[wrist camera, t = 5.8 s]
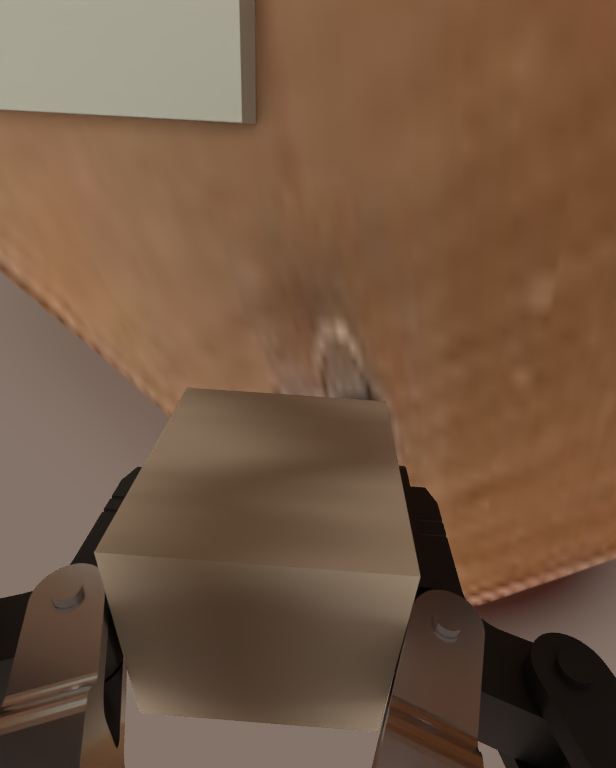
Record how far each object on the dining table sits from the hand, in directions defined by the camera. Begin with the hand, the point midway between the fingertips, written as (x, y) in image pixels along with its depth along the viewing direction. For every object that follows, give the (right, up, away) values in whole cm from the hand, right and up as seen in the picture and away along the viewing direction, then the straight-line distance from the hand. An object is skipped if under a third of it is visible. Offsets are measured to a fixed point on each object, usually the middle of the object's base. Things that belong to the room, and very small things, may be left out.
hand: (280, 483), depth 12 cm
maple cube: (0, 0, 0) cm, 1 cm away
